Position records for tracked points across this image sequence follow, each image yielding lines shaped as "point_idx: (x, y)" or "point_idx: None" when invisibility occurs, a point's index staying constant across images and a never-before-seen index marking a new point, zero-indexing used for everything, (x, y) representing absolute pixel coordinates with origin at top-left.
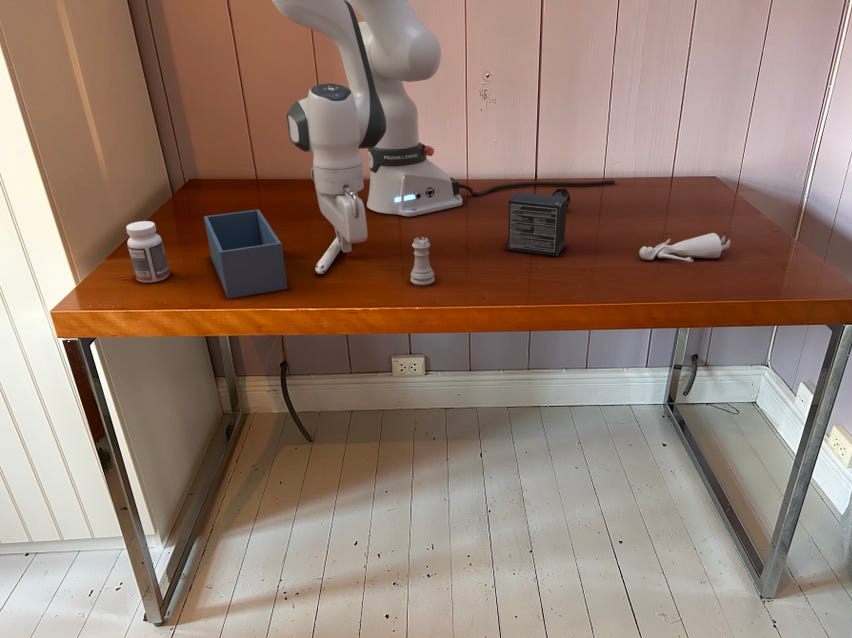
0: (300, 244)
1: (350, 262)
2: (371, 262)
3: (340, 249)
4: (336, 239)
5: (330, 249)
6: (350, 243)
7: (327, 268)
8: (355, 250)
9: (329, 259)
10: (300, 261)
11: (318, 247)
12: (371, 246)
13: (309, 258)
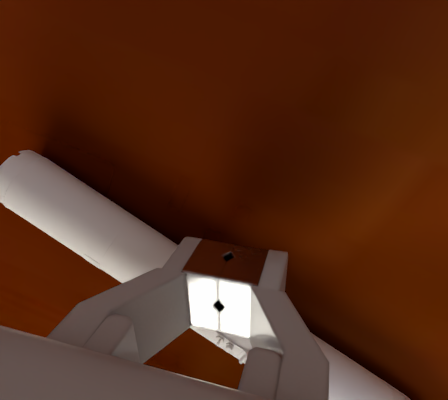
0: (32, 305)
1: (328, 240)
2: (417, 127)
3: (160, 236)
4: (78, 249)
5: (229, 344)
6: (278, 291)
7: (398, 393)
8: (153, 140)
9: (341, 383)
10: (204, 379)
11: (72, 271)
12: (113, 11)
13: (185, 346)
